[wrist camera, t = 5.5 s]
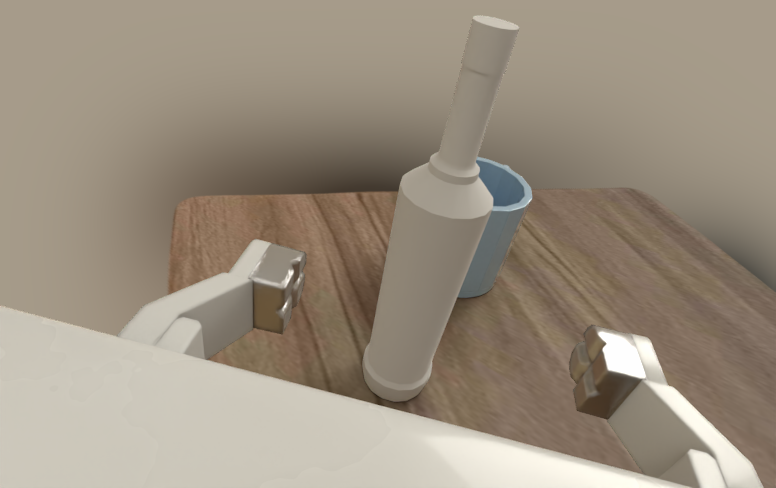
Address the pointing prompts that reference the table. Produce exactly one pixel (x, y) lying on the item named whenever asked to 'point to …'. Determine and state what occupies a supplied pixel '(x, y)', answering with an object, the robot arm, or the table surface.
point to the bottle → (437, 226)
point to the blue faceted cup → (496, 226)
